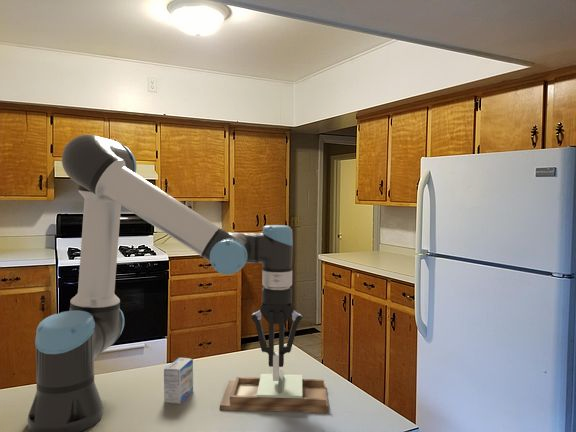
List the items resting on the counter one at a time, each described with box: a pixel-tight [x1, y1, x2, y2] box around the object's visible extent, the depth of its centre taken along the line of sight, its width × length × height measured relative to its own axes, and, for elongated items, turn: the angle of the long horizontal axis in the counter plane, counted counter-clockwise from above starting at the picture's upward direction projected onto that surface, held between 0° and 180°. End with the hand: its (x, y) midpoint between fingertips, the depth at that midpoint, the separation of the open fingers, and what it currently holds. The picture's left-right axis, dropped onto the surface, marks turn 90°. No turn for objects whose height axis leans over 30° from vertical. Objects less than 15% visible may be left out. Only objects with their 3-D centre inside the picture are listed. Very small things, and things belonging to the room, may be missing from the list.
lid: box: [257, 369, 303, 398], centre depth 113 cm, size 11×12×2 cm
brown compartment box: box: [219, 376, 329, 414], centre depth 113 cm, size 26×14×3 cm, turn 88°
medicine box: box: [163, 357, 194, 405], centre depth 112 cm, size 8×4×9 cm, turn 168°
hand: (275, 378), depth 113 cm, fingers closed
